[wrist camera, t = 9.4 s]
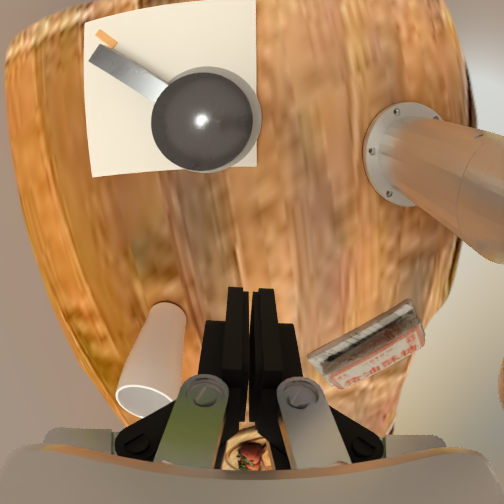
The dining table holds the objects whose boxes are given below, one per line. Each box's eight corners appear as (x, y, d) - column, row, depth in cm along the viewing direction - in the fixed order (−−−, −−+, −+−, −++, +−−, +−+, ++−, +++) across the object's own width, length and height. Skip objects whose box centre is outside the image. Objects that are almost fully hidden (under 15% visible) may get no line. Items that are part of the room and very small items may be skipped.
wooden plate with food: (370, 417, 57) (379, 447, 50) (316, 473, 71) (320, 496, 64) (225, 410, 53) (224, 446, 46) (206, 468, 67) (204, 493, 60)
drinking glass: (193, 335, 43) (180, 424, 29) (147, 331, 42) (122, 416, 29) (191, 297, 40) (174, 389, 26) (142, 293, 39) (107, 380, 26)
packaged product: (421, 314, 37) (432, 351, 41) (407, 294, 42) (420, 332, 46) (310, 375, 41) (335, 403, 45) (304, 352, 46) (330, 381, 50)
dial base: (259, 3, 24) (261, -2, 22) (260, 168, 32) (261, 171, 31) (90, 25, 23) (84, 22, 22) (98, 178, 32) (92, 182, 30)
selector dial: (270, 111, 28) (274, 112, 25) (214, 180, 31) (211, 190, 28) (132, 20, 22) (120, 12, 19) (83, 91, 25) (68, 92, 22)
